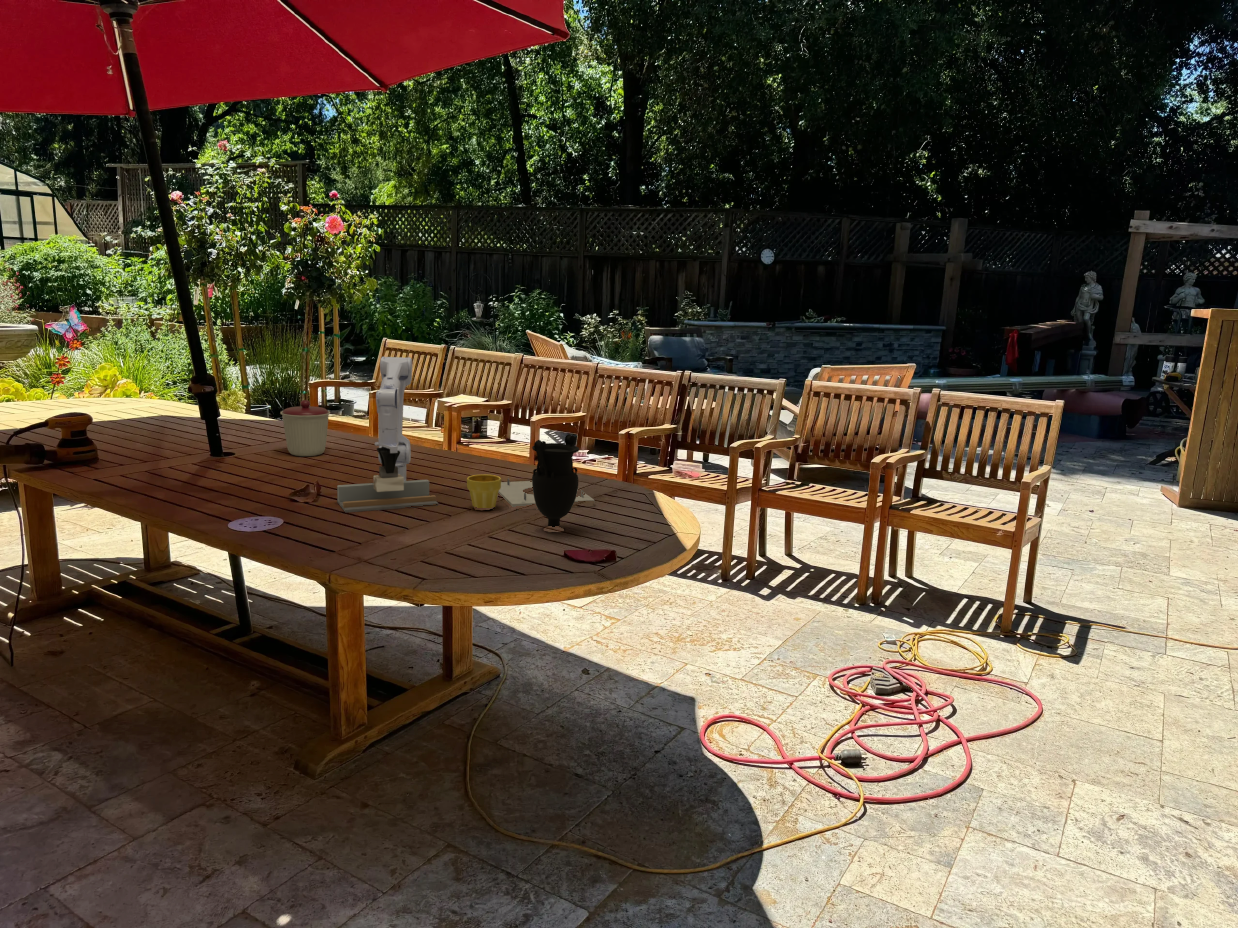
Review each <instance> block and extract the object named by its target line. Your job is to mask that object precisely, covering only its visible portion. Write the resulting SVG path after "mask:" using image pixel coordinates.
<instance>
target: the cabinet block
mask: <svg viewBox="0 0 1238 928" xmlns="http://www.w3.org/2000/svg"><path fill="white" fill-rule="evenodd" d="M373 483H374V489H375V490H376V491H377V492H384V491H399V490H404V477H402V476H401V475H400V474H398V467H397V466H395V469H394V473H386V470H385V466H382V465H381V466H378V474H377V475H373Z"/></svg>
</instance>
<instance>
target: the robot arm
mask: <svg viewBox="0 0 1238 928" xmlns="http://www.w3.org/2000/svg"><path fill="white" fill-rule="evenodd" d="M379 372H380V377H381V383H380V388H379V390H378V389H377V390H376V393H375V405H376V413H377V415H378V416H377V419H378V420H377V421H378V422H377V424H378V425H377V426H378V437H377V438H378V441H375V442H374V446H376V450H377V452H378V454H377V455H378V457H377V458H378V462H379V463H380V464H381V466H385V470H386V473H394V469H395V466H397V467H398V474H400V475H401V476H402V477H404V481H407V464H410V463H411V457H412V455H411V453H412V452H411V451H412V449H411V441H410V439H408V438H407V436H405V435H403V427H404V426H403V423H404V421H403V419H404V394H405V390H406V387H408V386H409V385H411V384H412V381H413V359H412V358H411V357H410V356H409V357H408V356H407V357H402V356H400V357H398V356H381V357H380V362H379ZM377 446H378V447H377Z"/></svg>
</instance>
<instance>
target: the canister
mask: <svg viewBox="0 0 1238 928" xmlns="http://www.w3.org/2000/svg"><path fill="white" fill-rule="evenodd" d="M279 414H280V415H282V423H283V430H284V437H285V442H286V448H287V451H288V453H290V455H292V456H295V457H315V456H320V455H322V454H323V453H324V452H325V449H326V446H327V437H328V428H329V427H328V426H329V416H330V414H331V411H330V410H328V409H326V408H325V407H321V406H311V402H310V400H307V399H303V400H301V401H300V406H293V407H292V406H291V407H287V408H285V409H283V410H281V411H280V413H279Z"/></svg>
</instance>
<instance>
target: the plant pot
mask: <svg viewBox="0 0 1238 928" xmlns="http://www.w3.org/2000/svg"><path fill="white" fill-rule="evenodd" d="M501 482H502V478H501V477H500V476H498V475H494V474H487V473H486V474H484V473H483V474H474V475H469V476H468V477H467V478H466V488H467V490H469V495H470V499H471V504H472V507H473V506H474V507H477V508H492V507H495V508H496V504H497V500H498V491H499V490H500V489H501Z"/></svg>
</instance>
